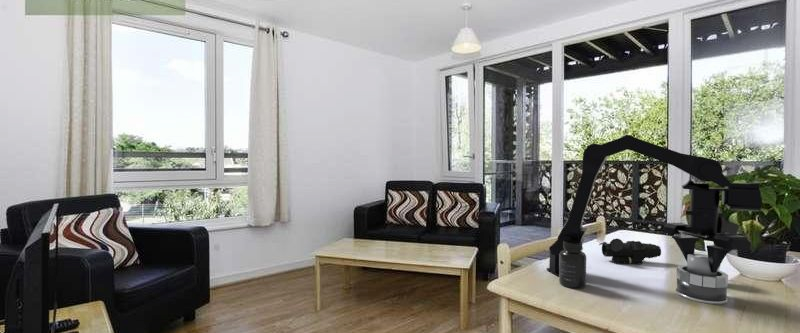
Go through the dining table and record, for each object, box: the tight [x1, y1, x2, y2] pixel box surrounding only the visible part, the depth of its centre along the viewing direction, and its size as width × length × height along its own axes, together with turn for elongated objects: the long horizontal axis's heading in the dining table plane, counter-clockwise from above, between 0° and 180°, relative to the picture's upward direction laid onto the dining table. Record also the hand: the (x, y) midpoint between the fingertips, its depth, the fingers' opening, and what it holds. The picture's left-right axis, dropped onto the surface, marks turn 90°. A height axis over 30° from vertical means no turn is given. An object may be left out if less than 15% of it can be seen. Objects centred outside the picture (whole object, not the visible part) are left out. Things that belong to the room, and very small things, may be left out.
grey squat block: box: [686, 254, 717, 276], centre depth 97 cm, size 6×6×4 cm
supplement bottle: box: [558, 240, 587, 290], centre depth 105 cm, size 7×7×12 cm
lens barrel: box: [675, 264, 729, 305], centre depth 97 cm, size 10×10×6 cm
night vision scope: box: [598, 238, 662, 265], centre depth 127 cm, size 8×18×10 cm
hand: (701, 268), depth 97 cm, fingers closed on grey squat block, 6 cm apart
